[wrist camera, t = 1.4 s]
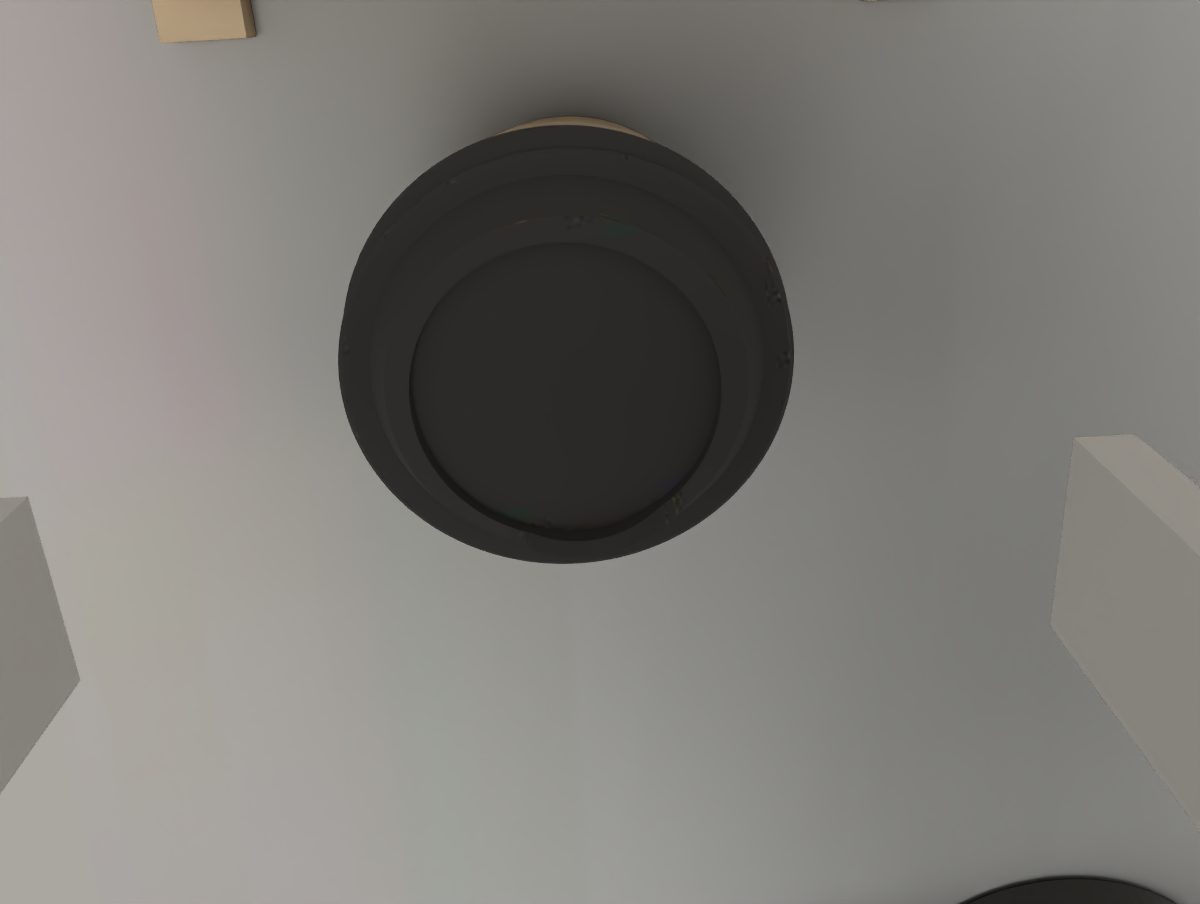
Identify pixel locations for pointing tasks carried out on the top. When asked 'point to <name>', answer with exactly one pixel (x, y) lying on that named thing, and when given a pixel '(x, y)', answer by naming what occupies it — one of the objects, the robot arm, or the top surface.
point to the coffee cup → (565, 344)
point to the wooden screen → (205, 19)
